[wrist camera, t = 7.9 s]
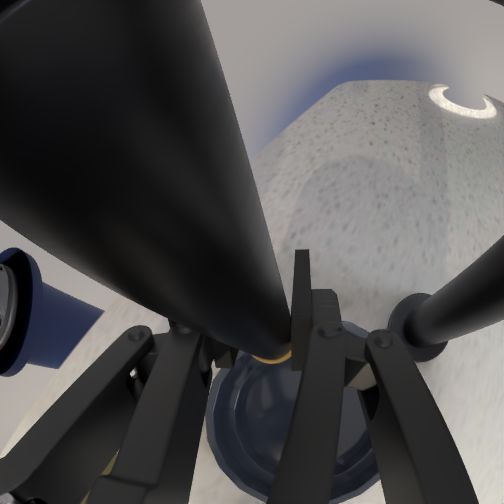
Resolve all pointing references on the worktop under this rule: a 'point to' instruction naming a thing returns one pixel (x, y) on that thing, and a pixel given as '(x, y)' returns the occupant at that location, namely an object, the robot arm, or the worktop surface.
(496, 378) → the worktop surface
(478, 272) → the faucet
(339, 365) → the robot arm
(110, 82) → the spout
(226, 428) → the basin
